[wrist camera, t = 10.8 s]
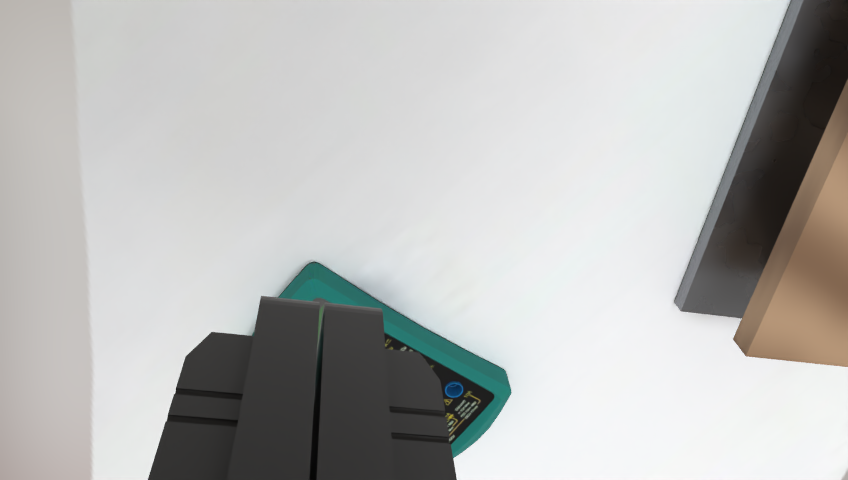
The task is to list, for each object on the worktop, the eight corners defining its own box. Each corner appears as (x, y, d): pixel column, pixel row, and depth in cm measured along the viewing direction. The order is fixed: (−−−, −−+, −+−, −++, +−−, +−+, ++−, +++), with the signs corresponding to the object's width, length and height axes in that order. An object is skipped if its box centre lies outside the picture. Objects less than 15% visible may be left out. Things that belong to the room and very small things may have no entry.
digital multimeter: (442, 447, 50) (447, 481, 47) (240, 344, 45) (233, 375, 42) (514, 370, 48) (524, 401, 45) (309, 251, 43) (307, 279, 40)
